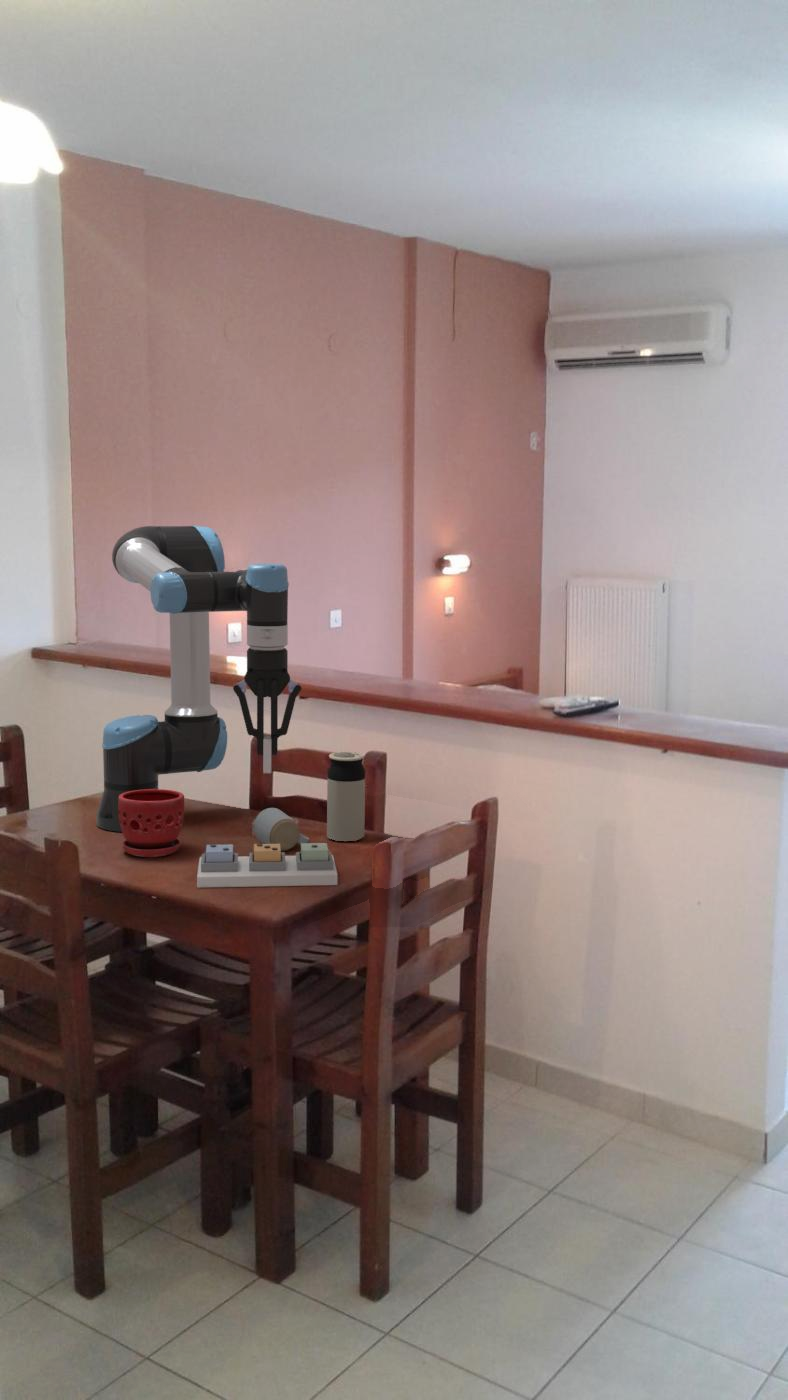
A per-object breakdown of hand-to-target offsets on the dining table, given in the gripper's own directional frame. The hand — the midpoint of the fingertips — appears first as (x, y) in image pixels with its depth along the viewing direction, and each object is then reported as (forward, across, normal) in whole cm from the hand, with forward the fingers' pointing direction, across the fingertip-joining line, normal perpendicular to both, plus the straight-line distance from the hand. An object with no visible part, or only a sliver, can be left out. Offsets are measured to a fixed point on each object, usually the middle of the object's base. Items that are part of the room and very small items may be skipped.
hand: (267, 771), depth 239 cm
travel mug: (+21, +17, +26) cm, 37 cm away
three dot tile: (+17, 0, 0) cm, 17 cm away
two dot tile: (+17, -9, 0) cm, 19 cm away
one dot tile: (+17, +9, 0) cm, 19 cm away
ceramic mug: (+21, +4, +20) cm, 29 cm away
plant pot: (+21, -23, +18) cm, 36 cm away
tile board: (+20, 0, 0) cm, 20 cm away
